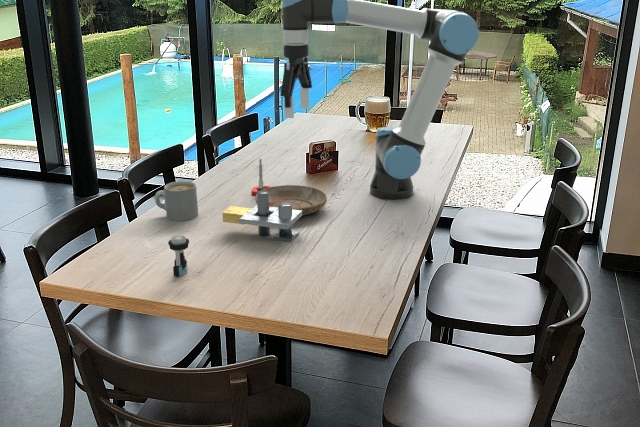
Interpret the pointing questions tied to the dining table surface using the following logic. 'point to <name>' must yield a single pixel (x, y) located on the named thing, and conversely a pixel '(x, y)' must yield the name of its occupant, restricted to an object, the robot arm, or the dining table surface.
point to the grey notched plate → (267, 219)
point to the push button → (179, 254)
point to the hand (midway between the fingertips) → (297, 113)
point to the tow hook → (260, 187)
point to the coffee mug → (179, 200)
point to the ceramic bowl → (297, 197)
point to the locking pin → (263, 210)
